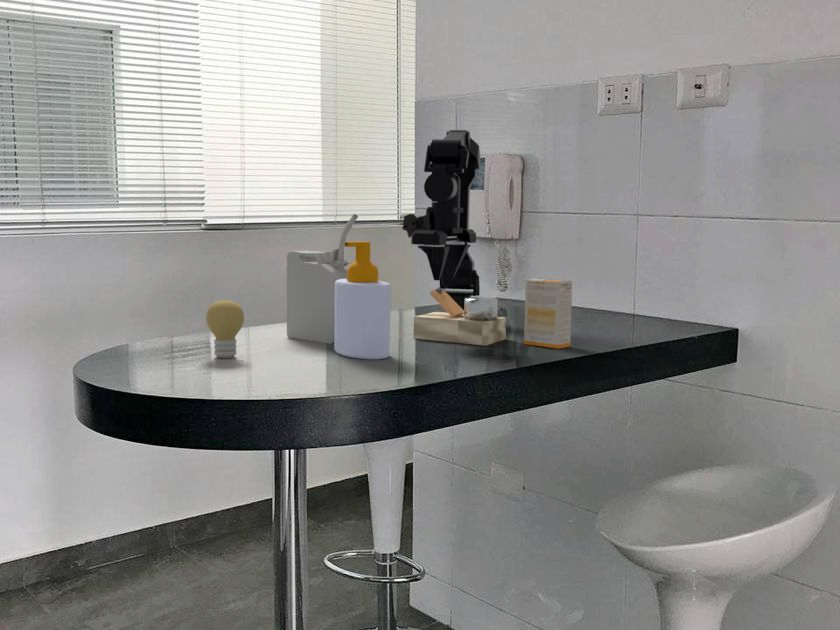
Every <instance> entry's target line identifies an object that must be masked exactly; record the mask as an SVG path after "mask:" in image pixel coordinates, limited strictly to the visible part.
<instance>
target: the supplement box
mask: <svg viewBox="0 0 840 630" xmlns="http://www.w3.org/2000/svg"><path fill="white" fill-rule="evenodd" d="M524 285H525V289H524V292H525V293H524V301H525V302H524V327H523V328H524V330H523V331H524V332H523V333H524V335H523V336H524V337H523V344H524V345H529V346H536V347H537V346H538V347H544V348H550V349H557V350H559V349H565V348H570V347H571V331H572V328H571V327H572V307H573V305H572V303H573V302H572V301H573V300H572V299H573V297H572V296H573V280H566V279H554V278H553V279H552V278H540V277H538V278H537V277H536V278H529V279H525V284H524ZM569 346H570V347H569Z"/></svg>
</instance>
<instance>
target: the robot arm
mask: <svg viewBox="0 0 840 630" xmlns="http://www.w3.org/2000/svg"><path fill="white" fill-rule="evenodd" d="M480 169H481V151H480V145H479V144H478V143H477V142H476V141H475V140H473V139H472V138H471V133H470V131H467V130H466V129H464V130H463V129H450V130H446V135H445V137H443V138H442V139H441V138H440V139H439V138H438V139H437V138H436V139H435V138H433V139H431V140H430V144H427V148H426V155H425V162H424V168H423V171H424V173H431V174H429V175H428V177H427V178H426V179H425V182H424V185H423V189H424V193H425V196H426V197H427V198H428V199H430V200H431V206H427V208H426V211H425V212H426V213H425V214H424V215H422V216H421V215H420V216H419V215H418V217H417V216H416V215H415V214H413V213H410V214H406V215H404V216H403V222H402V231H406V234H407V237H408V238H411V239H410V241H411V242H410V244H411V245H417V248H418V249H419V250H422V251H423V253H424V254H425V255H426V256H427V257H426V258H427V261H428V264H429V267H430V270H431V274H432V278H433V280H434V281H439V287H440V288H441V289H443V290H444V291H445V292H446V293H447V294H448V295H449V296H450V297H451V298H452V299H453V300H454V301H455V302H456V303H457V304H458V305H459V306H460V307H461V308H462V309H463V310H464V303H465V298H468V297H480V295H481V294H480V289H481V288H480V287H481V286H480V276H479V274H478V271H477V269H475V261H474V260H473V258H472V256H471V254H470V252H469V248H471V245H472V244H474V243H477V233H476V231H474V229H470V228H469V227H470V200H471V195H470V193H471V187H472V185H473V184H474V183H475V181H476V179H477V178H478V170H480ZM469 290H470V291H469ZM471 290H472V291H471ZM445 312H446V313H448V312H447V311H446V310H445Z"/></svg>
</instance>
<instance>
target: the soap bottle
mask: <svg viewBox="0 0 840 630" xmlns="http://www.w3.org/2000/svg"><path fill="white" fill-rule="evenodd" d="M353 247H354V248H355V261H354V262H351V263H350V265H349V266H348V267H347V269H346V270H347V279H339V280H336V281H335V320H334V344H333V345H334V346H333V348H334V352H335V353H336V354H338V355H341V356H344V357H349V358H353V359H359V360H361V359H362V360H373V361H374V360H384V359H388V357H389V356H390V354H391V302H392V299H391V297H392V295H391V294H392V285H391V283H389V282H386V281H382V280H379V271H378V267H377V266H376V264H374V263H372V262H371V241H345V245H344V248H353Z"/></svg>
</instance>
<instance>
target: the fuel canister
mask: <svg viewBox="0 0 840 630" xmlns="http://www.w3.org/2000/svg"><path fill="white" fill-rule="evenodd" d="M358 218H359V216H358V215H357V214H355V213H354V214H352V215H351V217H350V218H349V220H348V221H347V223H346V224H345V226H344V227H343V229H342V232H341V236H340V242H339V244H338V247H336V248H335V249H332V251H314V250H291V251H289V252H288V253H287V255H286V336H287V338H290V339H294V340H295V339H296V340H302V341H309V342H315V343H316V342H317V343H324V344H328V345H334V320H335V281H336V280H339V279H347V270H348V269H346V268H345V267H346V266H348V265H349V264H352V261H350V260H347V259H346V260H345V259H344V258H345V249H344V248H345V242H347V241H346V240H347V235H348V233H349V232H350V231H351V229H352V228H353V225H354V224H355V223H356V220H357V219H358Z"/></svg>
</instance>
